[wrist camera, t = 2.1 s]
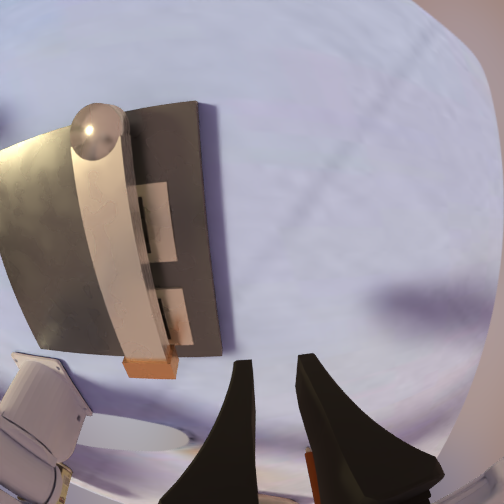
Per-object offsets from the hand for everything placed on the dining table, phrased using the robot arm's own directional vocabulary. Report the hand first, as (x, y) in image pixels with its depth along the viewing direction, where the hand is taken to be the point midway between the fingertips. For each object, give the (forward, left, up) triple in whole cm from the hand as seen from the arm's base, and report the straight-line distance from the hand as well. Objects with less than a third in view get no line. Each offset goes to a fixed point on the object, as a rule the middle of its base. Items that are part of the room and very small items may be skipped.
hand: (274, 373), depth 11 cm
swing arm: (+3, +8, -7) cm, 11 cm away
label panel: (+2, +12, -9) cm, 15 cm away
